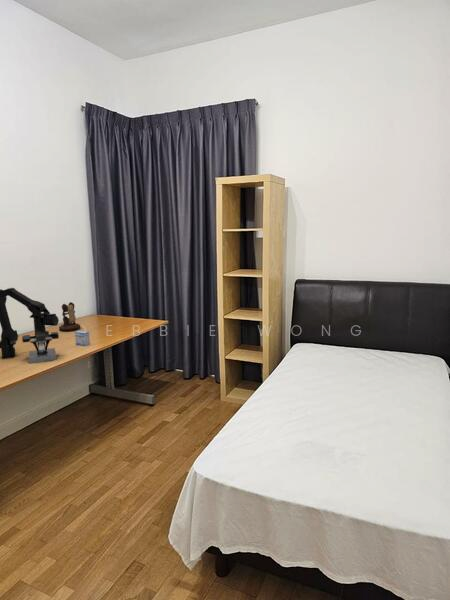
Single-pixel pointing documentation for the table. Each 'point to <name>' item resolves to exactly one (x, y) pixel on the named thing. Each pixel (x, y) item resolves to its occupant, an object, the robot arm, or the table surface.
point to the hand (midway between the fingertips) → (42, 351)
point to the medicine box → (82, 338)
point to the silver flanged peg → (41, 347)
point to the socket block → (42, 356)
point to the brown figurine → (69, 322)
